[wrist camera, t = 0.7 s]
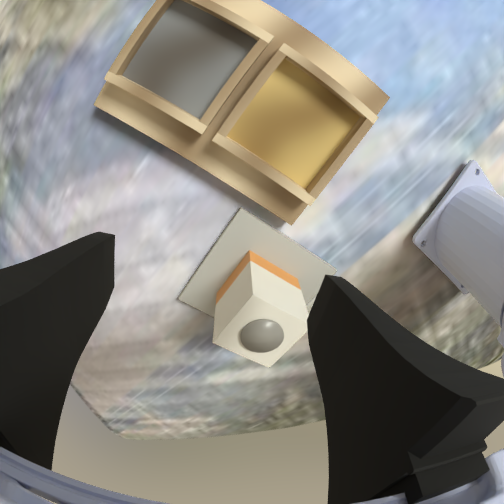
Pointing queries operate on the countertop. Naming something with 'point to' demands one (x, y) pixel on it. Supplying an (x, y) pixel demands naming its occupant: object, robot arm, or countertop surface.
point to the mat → (261, 243)
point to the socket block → (243, 97)
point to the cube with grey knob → (259, 311)
